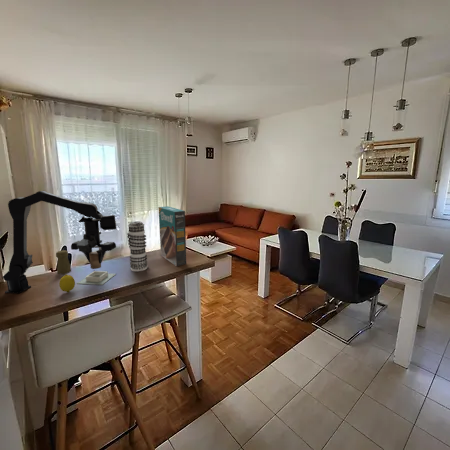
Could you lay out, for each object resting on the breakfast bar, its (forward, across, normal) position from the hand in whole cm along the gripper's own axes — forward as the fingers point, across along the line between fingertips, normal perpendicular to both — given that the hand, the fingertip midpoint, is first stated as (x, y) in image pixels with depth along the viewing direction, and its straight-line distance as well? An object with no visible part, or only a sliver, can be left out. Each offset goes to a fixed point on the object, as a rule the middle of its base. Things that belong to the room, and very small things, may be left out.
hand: (95, 263), depth 116 cm
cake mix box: (+8, +28, +30) cm, 42 cm away
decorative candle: (+8, +14, +15) cm, 22 cm away
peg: (+2, 0, 0) cm, 2 cm away
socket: (+8, 0, 0) cm, 8 cm away
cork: (+8, -22, +7) cm, 24 cm away
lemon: (+8, -4, -14) cm, 17 cm away
